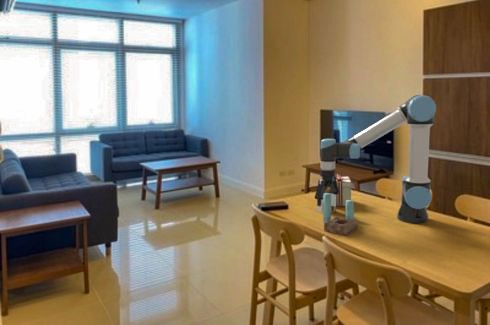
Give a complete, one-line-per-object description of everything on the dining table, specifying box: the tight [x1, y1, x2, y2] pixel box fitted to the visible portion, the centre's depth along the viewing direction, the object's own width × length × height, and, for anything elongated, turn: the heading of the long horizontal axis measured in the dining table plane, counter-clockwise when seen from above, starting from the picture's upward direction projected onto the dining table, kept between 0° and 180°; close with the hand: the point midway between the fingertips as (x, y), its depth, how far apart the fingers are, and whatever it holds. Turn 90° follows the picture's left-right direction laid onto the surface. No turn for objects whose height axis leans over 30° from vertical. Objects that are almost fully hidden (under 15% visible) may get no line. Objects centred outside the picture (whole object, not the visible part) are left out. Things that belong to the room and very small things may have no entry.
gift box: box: [320, 173, 353, 207], centre depth 252 cm, size 17×18×17 cm
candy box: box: [322, 187, 337, 213], centre depth 237 cm, size 9×4×15 cm, turn 61°
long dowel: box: [322, 193, 332, 223], centre depth 218 cm, size 4×4×15 cm
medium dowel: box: [345, 199, 355, 211], centre depth 222 cm, size 4×4×10 cm
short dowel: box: [345, 209, 355, 221], centre depth 214 cm, size 4×4×7 cm
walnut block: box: [323, 216, 359, 236], centre depth 206 cm, size 12×12×4 cm
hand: (326, 208), depth 218 cm, fingers open, 13 cm apart
